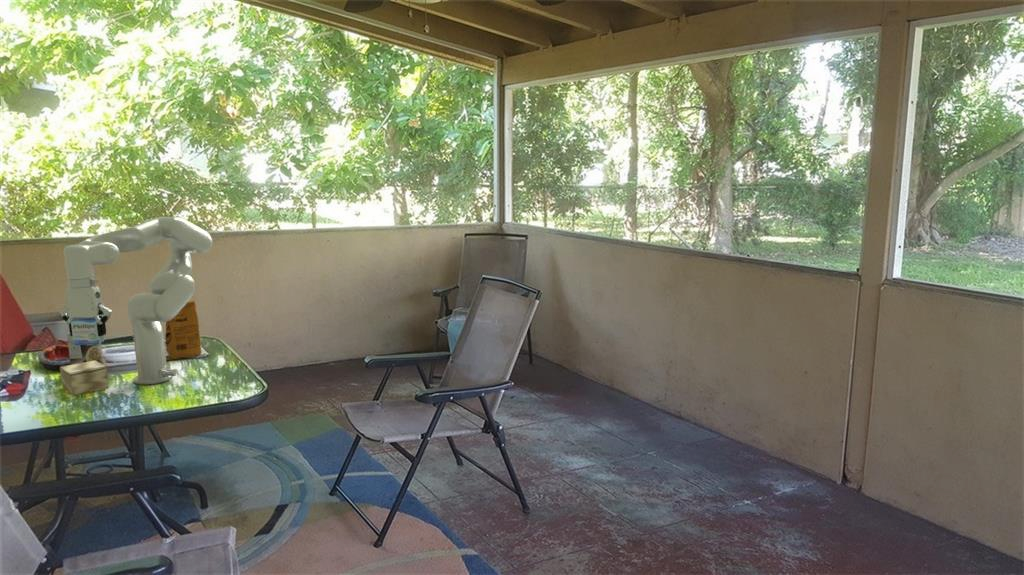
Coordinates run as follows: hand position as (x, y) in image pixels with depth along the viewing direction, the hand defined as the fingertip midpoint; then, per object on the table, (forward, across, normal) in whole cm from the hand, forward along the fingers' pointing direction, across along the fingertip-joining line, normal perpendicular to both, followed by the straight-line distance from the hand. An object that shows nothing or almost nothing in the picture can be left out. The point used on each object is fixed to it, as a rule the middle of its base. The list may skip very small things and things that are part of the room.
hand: (88, 335), depth 229 cm
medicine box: (+3, 0, 0) cm, 3 cm away
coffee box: (+22, +21, -26) cm, 40 cm away
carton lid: (+15, +11, -11) cm, 21 cm away
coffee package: (+23, -2, -53) cm, 58 cm away
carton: (+22, +11, -11) cm, 27 cm away
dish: (+23, +41, -41) cm, 62 cm away
